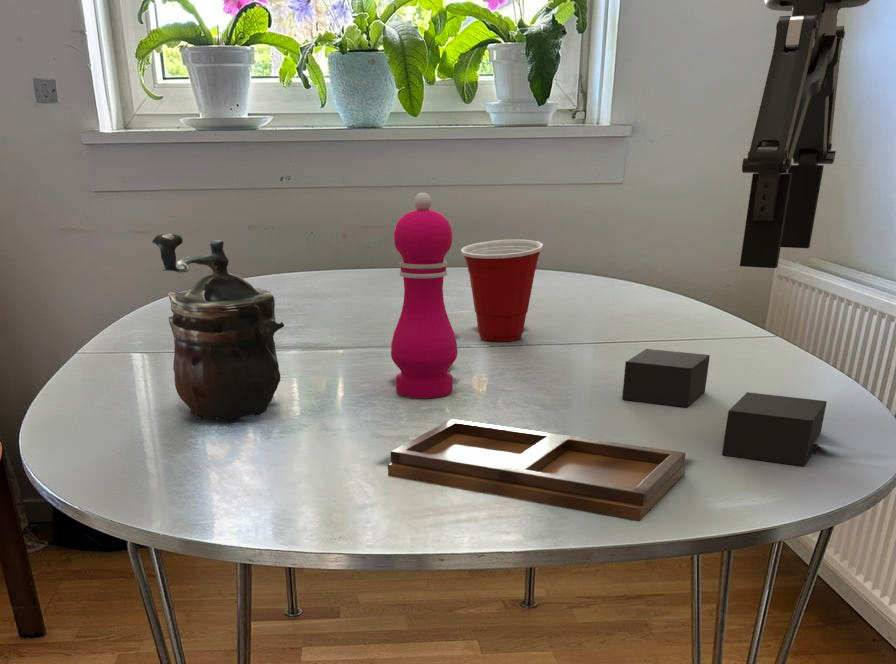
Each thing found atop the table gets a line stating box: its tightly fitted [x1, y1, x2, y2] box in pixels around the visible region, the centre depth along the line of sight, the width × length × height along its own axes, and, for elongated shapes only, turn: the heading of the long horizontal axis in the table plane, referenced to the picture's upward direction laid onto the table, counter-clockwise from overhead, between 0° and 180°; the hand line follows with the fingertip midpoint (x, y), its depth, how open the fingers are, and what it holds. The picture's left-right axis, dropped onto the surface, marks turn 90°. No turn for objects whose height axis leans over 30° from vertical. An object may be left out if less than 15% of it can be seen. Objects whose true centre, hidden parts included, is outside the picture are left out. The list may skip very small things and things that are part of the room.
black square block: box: [721, 391, 828, 467], centre depth 84 cm, size 7×7×4 cm
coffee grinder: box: [152, 233, 285, 424], centre depth 93 cm, size 13×15×18 cm
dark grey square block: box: [621, 348, 711, 408], centre depth 101 cm, size 7×7×4 cm
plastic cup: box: [460, 239, 544, 342], centre depth 127 cm, size 11×11×12 cm
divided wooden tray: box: [387, 418, 687, 521], centre depth 80 cm, size 22×12×2 cm, turn 60°
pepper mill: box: [390, 192, 458, 399], centre depth 100 cm, size 7×7×20 cm
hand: (776, 257), depth 79 cm, fingers open, 13 cm apart
